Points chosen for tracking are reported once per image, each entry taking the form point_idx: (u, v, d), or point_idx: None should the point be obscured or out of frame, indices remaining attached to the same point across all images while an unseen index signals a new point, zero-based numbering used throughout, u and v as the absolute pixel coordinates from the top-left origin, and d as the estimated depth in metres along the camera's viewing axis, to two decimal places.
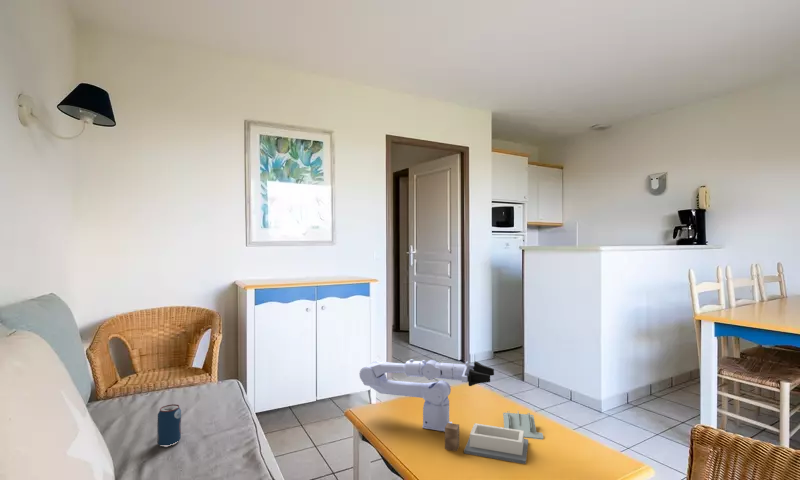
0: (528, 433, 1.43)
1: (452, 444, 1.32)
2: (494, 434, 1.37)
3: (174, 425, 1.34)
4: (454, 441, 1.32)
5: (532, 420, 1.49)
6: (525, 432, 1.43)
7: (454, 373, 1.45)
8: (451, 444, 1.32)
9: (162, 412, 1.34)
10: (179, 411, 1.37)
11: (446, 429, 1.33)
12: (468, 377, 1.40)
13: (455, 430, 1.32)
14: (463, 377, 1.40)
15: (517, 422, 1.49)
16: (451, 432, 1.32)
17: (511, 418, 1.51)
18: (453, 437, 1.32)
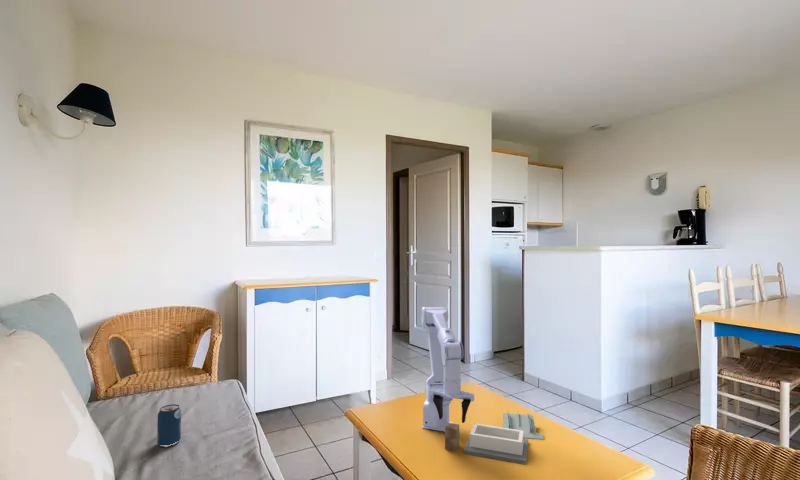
0: (528, 434, 1.42)
1: (452, 444, 1.32)
2: (494, 434, 1.37)
3: (174, 425, 1.34)
4: (454, 441, 1.32)
5: (532, 421, 1.49)
6: (525, 433, 1.43)
7: None
8: (451, 444, 1.32)
9: (162, 412, 1.34)
10: (179, 411, 1.37)
11: (446, 429, 1.33)
12: None
13: (455, 430, 1.32)
14: None
15: (517, 423, 1.48)
16: (451, 432, 1.32)
17: (511, 419, 1.50)
18: (453, 437, 1.32)
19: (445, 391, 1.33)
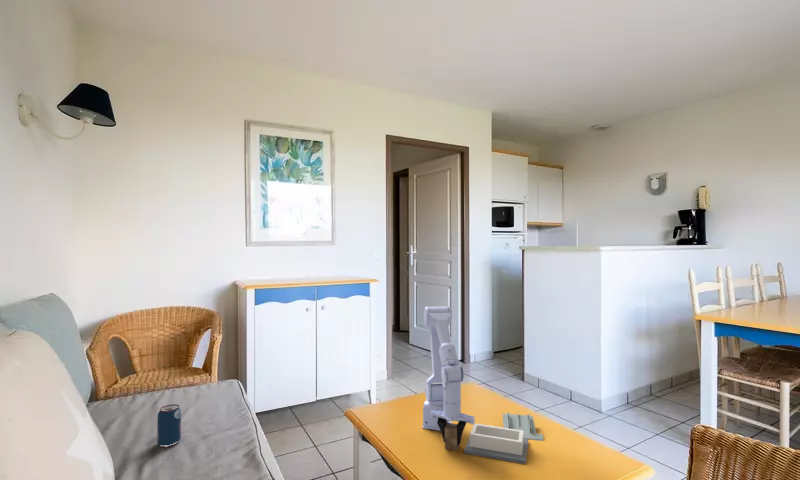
0: (528, 434, 1.42)
1: (452, 444, 1.32)
2: (494, 434, 1.37)
3: (174, 425, 1.34)
4: (454, 441, 1.32)
5: (532, 421, 1.48)
6: (525, 433, 1.42)
7: None
8: (451, 444, 1.32)
9: (162, 412, 1.34)
10: (179, 411, 1.37)
11: (446, 429, 1.33)
12: None
13: (455, 430, 1.32)
14: None
15: (517, 423, 1.48)
16: (451, 432, 1.32)
17: (511, 419, 1.50)
18: (453, 437, 1.32)
19: (445, 414, 1.33)
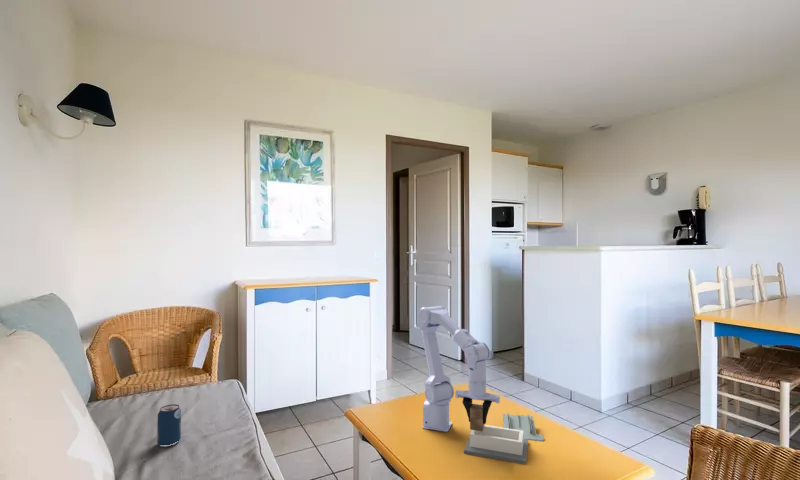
0: (528, 435, 1.41)
1: (478, 424, 1.32)
2: (494, 434, 1.37)
3: (174, 425, 1.34)
4: (479, 421, 1.32)
5: (532, 422, 1.48)
6: (525, 434, 1.42)
7: None
8: (477, 425, 1.32)
9: (162, 412, 1.34)
10: (179, 411, 1.37)
11: (471, 409, 1.33)
12: None
13: (480, 410, 1.31)
14: None
15: (517, 424, 1.47)
16: (477, 412, 1.32)
17: (511, 420, 1.49)
18: (478, 418, 1.32)
19: (470, 393, 1.33)
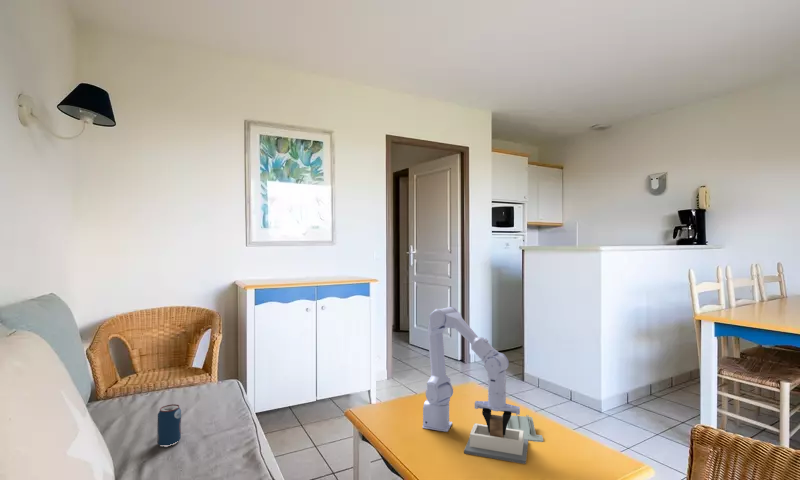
0: (528, 436, 1.41)
1: (498, 435, 1.32)
2: None
3: (174, 425, 1.34)
4: (499, 432, 1.31)
5: (531, 422, 1.47)
6: (525, 435, 1.41)
7: (488, 392, 1.35)
8: (497, 436, 1.32)
9: (162, 412, 1.34)
10: (179, 411, 1.37)
11: (491, 421, 1.32)
12: None
13: (501, 422, 1.31)
14: None
15: (516, 424, 1.47)
16: (497, 424, 1.32)
17: (510, 420, 1.49)
18: (498, 429, 1.32)
19: (490, 404, 1.33)
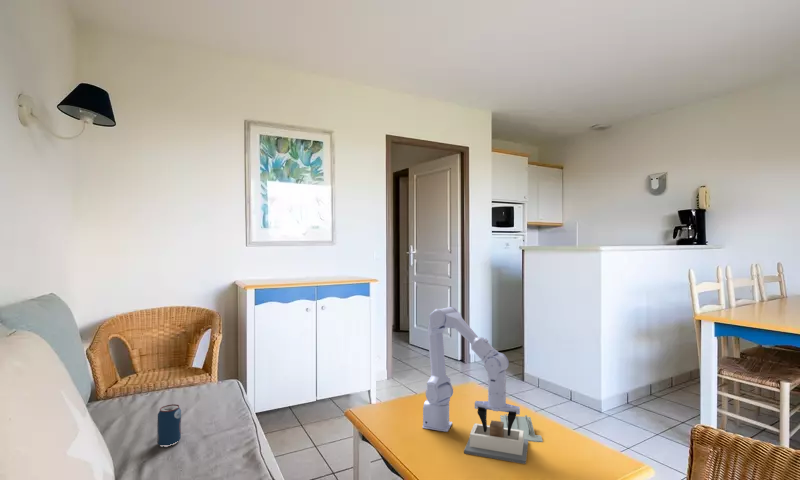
0: (527, 436, 1.40)
1: None
2: None
3: (174, 425, 1.34)
4: None
5: (530, 422, 1.47)
6: (524, 435, 1.41)
7: (488, 392, 1.35)
8: None
9: (162, 412, 1.34)
10: (179, 411, 1.37)
11: (491, 426, 1.32)
12: None
13: (501, 427, 1.31)
14: None
15: (515, 425, 1.46)
16: (497, 429, 1.32)
17: None
18: (498, 435, 1.32)
19: (490, 404, 1.33)
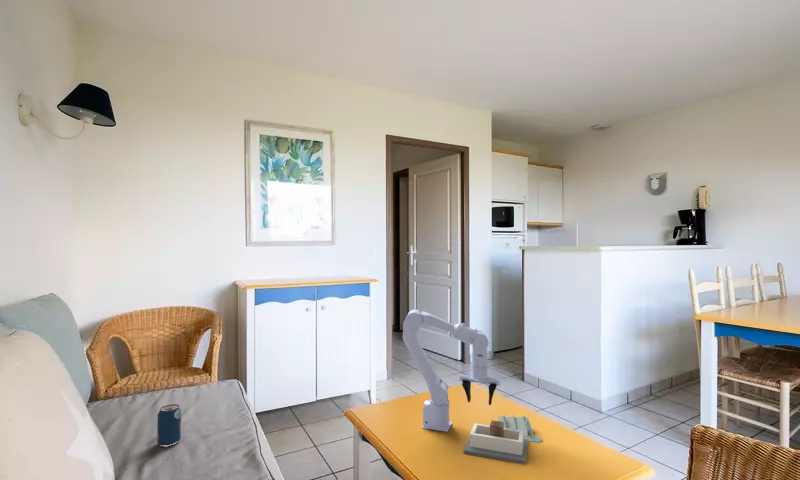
0: (526, 437, 1.40)
1: None
2: None
3: (174, 425, 1.34)
4: None
5: (528, 423, 1.47)
6: None
7: None
8: None
9: (162, 412, 1.34)
10: (179, 411, 1.37)
11: (491, 426, 1.32)
12: None
13: (501, 427, 1.31)
14: None
15: (513, 426, 1.46)
16: (497, 429, 1.32)
17: (507, 422, 1.48)
18: (498, 435, 1.32)
19: (473, 376, 1.47)
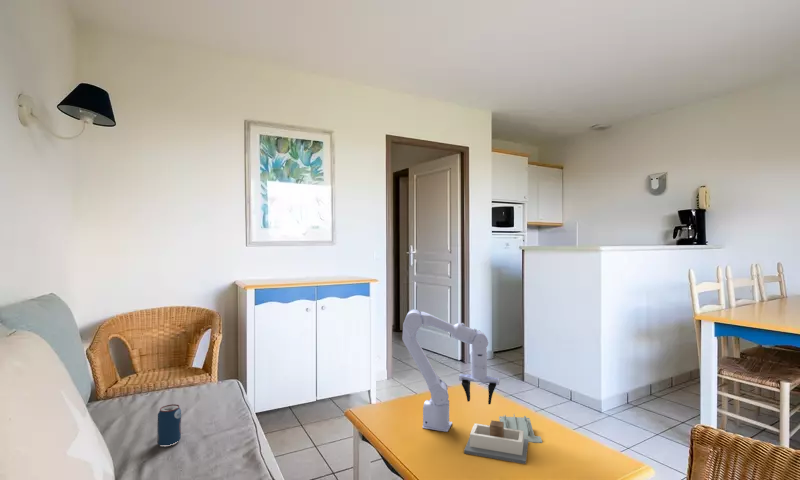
0: None
1: None
2: None
3: (174, 425, 1.34)
4: None
5: (529, 423, 1.46)
6: None
7: (471, 366, 1.50)
8: None
9: (162, 412, 1.34)
10: (179, 411, 1.37)
11: (491, 426, 1.32)
12: None
13: (501, 427, 1.31)
14: (459, 377, 1.51)
15: (514, 426, 1.45)
16: (497, 429, 1.32)
17: (508, 422, 1.47)
18: (498, 435, 1.32)
19: (473, 376, 1.48)
